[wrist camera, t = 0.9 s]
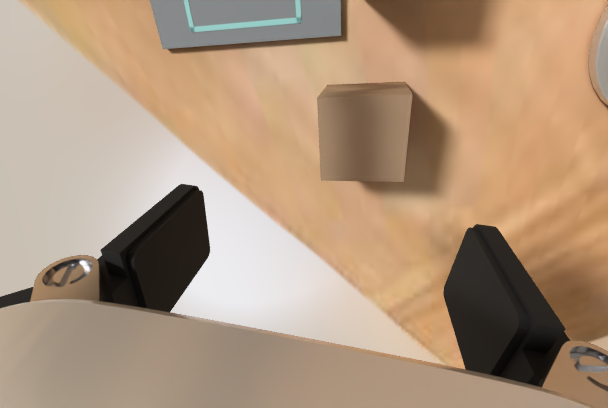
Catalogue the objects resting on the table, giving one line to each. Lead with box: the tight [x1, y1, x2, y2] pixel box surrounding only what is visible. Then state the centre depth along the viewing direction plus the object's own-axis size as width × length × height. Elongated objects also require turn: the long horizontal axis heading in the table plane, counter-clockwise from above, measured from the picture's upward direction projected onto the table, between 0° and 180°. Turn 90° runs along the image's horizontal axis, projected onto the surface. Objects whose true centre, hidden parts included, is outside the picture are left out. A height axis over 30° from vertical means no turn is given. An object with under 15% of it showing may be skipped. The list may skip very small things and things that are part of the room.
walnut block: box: [317, 82, 413, 182], centre depth 25 cm, size 6×6×6 cm
